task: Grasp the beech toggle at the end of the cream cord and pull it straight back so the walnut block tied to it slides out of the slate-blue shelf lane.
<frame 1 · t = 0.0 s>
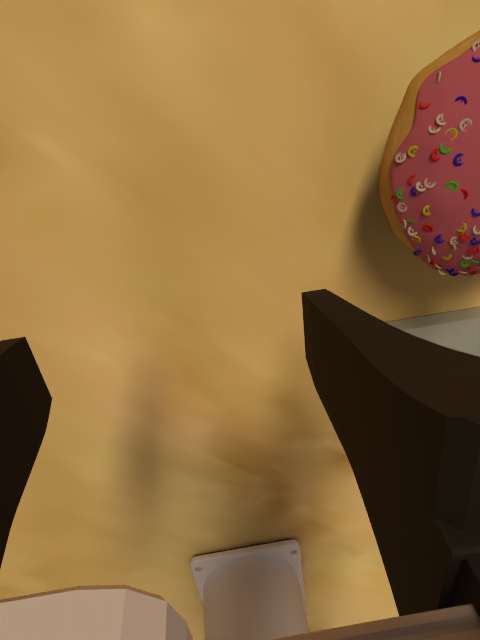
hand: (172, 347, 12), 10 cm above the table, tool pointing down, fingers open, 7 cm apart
cupcake: (436, 139, 20), on the table
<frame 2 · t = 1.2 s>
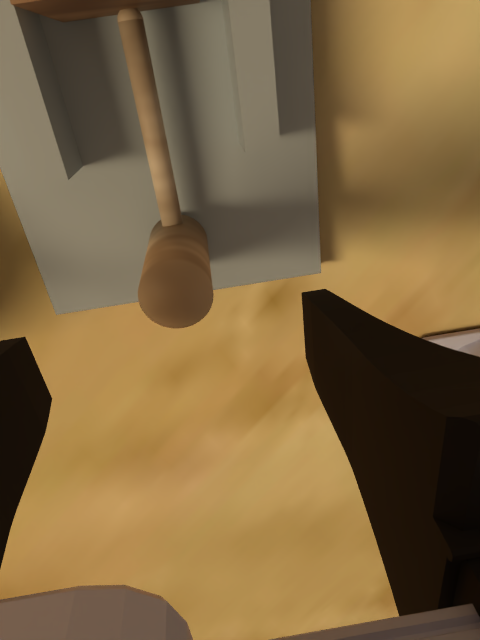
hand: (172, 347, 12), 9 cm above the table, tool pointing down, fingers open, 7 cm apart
lane shelf: (145, 64, 17), on the table
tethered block: (139, 87, 14), point 4 cm above the table, slide at 0.0 cm
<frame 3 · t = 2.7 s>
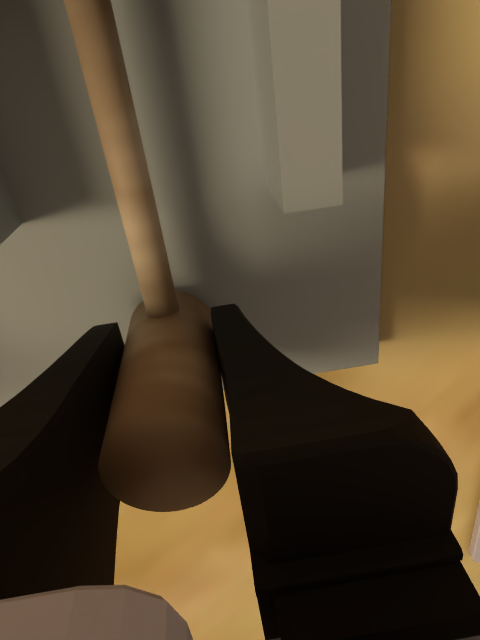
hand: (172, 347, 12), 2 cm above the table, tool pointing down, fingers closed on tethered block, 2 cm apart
lane shelf: (118, 64, 10), on the table
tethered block: (98, 105, 7), point 4 cm above the table, slide at 0.0 cm, touching gripper
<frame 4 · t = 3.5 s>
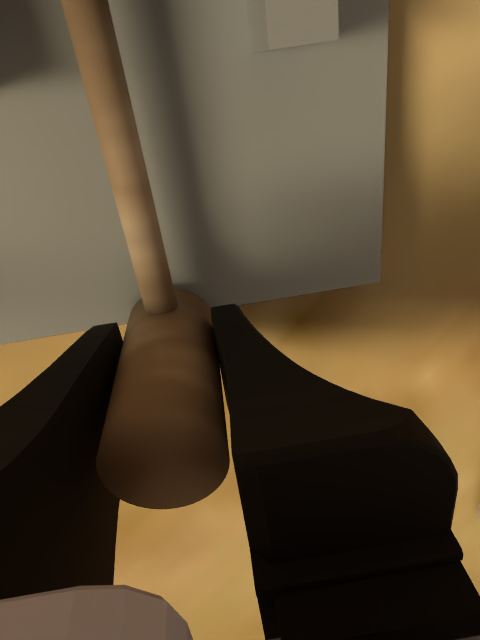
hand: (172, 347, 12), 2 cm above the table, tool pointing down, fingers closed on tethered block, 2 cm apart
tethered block: (94, 99, 7), point 4 cm above the table, slide at 2.7 cm, touching gripper
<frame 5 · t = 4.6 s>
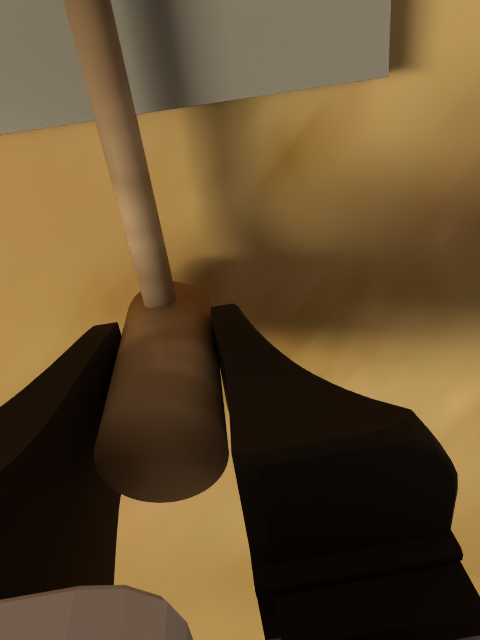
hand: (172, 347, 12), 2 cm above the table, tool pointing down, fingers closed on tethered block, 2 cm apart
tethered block: (93, 86, 7), point 4 cm above the table, slide at 7.7 cm, touching gripper
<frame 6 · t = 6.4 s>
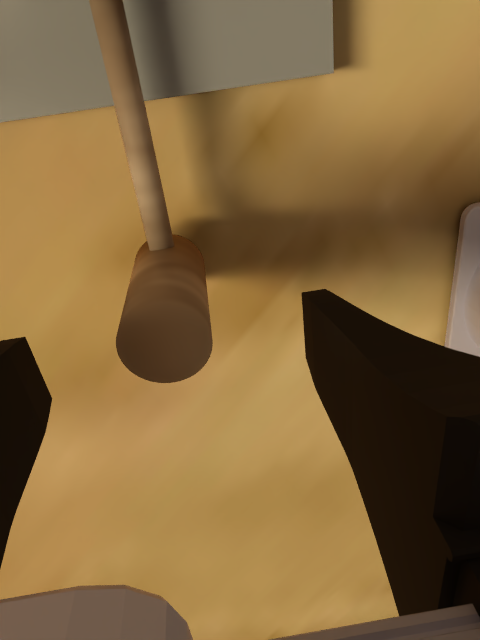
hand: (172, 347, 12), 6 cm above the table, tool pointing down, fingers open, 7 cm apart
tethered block: (116, 78, 11), point 4 cm above the table, slide at 7.7 cm
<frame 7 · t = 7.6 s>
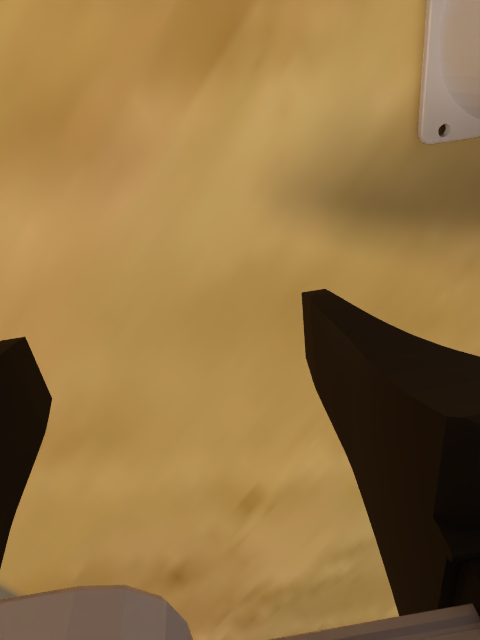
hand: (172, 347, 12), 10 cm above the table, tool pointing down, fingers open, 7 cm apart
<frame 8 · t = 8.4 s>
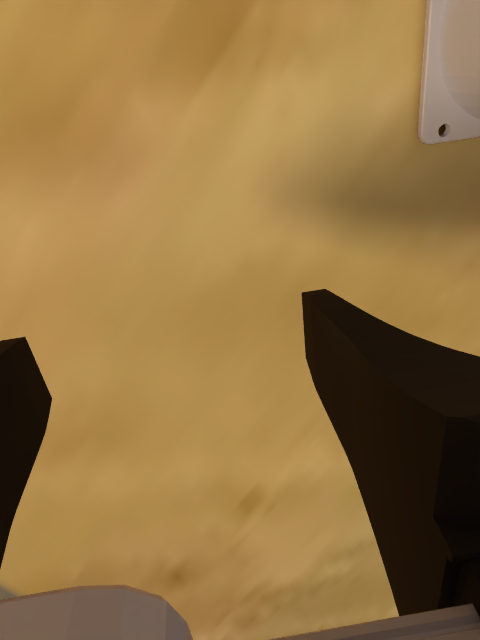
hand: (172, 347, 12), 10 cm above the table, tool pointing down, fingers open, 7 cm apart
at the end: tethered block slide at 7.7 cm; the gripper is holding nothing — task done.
